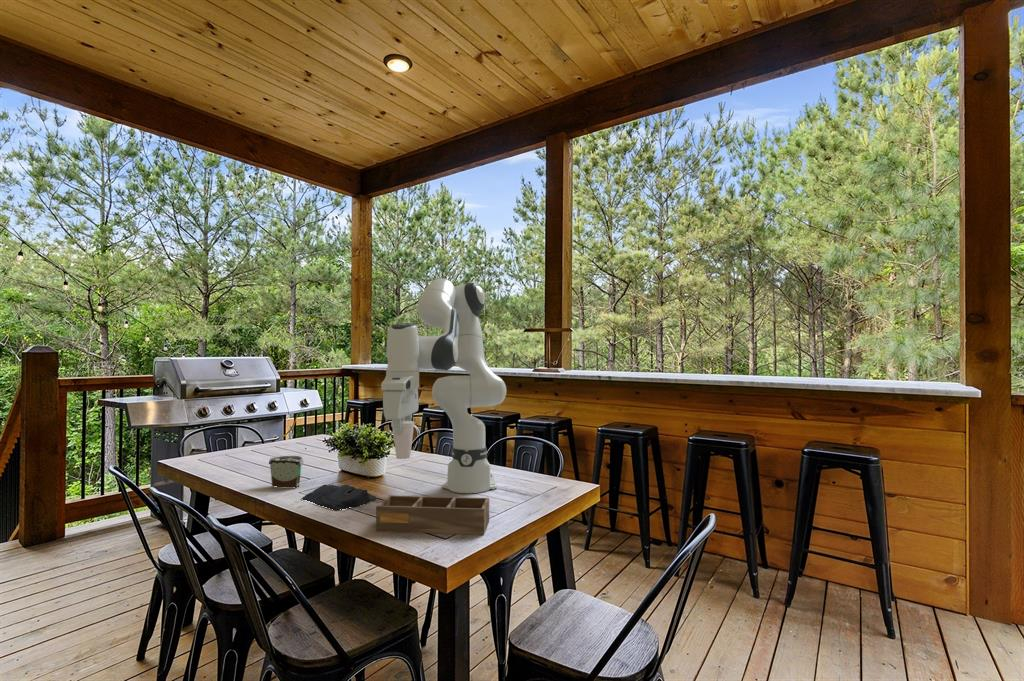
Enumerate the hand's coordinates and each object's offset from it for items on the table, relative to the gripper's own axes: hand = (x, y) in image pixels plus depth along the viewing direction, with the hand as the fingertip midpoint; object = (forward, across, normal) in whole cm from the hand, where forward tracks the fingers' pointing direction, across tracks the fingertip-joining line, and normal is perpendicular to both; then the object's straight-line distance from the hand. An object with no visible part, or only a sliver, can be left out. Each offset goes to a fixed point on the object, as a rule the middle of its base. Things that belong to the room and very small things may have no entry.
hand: (402, 432), depth 136 cm
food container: (+25, -36, -52) cm, 68 cm away
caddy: (+25, 0, +9) cm, 27 cm away
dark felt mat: (+26, -21, -27) cm, 43 cm away
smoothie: (+7, 0, 0) cm, 7 cm away
